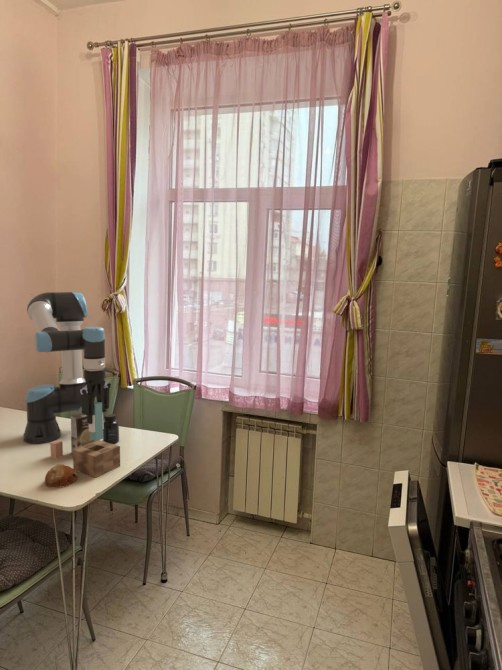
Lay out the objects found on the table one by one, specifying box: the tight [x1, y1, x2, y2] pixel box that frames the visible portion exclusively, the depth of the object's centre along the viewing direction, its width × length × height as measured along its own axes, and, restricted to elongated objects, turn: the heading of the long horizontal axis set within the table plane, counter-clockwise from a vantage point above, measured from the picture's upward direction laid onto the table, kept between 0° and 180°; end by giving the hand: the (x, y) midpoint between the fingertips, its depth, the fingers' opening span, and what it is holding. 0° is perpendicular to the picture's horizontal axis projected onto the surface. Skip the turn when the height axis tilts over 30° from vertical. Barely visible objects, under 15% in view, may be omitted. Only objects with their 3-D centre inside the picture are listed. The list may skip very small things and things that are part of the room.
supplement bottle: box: [102, 413, 120, 445], centre depth 198 cm, size 7×7×12 cm
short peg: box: [49, 439, 64, 460], centre depth 182 cm, size 3×3×6 cm
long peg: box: [90, 400, 104, 441], centre depth 170 cm, size 3×3×14 cm
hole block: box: [72, 440, 121, 479], centre depth 172 cm, size 12×12×8 cm
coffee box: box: [70, 412, 94, 454], centre depth 186 cm, size 9×6×16 cm
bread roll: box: [44, 463, 78, 488], centre depth 160 cm, size 10×10×8 cm
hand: (96, 429), depth 170 cm, fingers closed on long peg, 3 cm apart
